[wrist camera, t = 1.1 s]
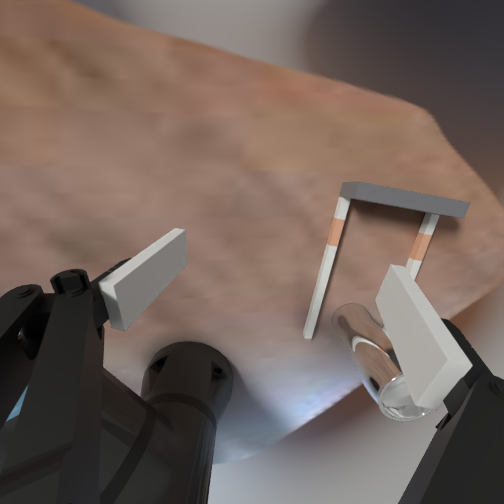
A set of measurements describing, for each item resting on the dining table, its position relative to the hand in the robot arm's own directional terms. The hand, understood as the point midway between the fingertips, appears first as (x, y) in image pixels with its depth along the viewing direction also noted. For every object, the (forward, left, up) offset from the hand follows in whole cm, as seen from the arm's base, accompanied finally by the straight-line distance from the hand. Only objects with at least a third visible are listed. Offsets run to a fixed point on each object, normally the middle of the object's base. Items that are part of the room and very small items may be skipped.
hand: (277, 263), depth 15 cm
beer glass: (-14, -18, -20) cm, 30 cm away
